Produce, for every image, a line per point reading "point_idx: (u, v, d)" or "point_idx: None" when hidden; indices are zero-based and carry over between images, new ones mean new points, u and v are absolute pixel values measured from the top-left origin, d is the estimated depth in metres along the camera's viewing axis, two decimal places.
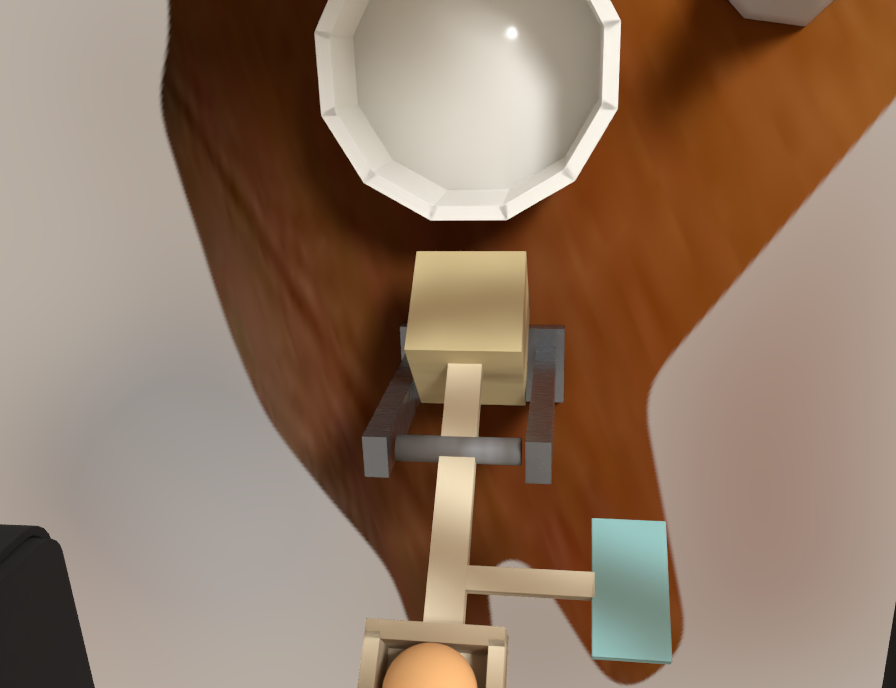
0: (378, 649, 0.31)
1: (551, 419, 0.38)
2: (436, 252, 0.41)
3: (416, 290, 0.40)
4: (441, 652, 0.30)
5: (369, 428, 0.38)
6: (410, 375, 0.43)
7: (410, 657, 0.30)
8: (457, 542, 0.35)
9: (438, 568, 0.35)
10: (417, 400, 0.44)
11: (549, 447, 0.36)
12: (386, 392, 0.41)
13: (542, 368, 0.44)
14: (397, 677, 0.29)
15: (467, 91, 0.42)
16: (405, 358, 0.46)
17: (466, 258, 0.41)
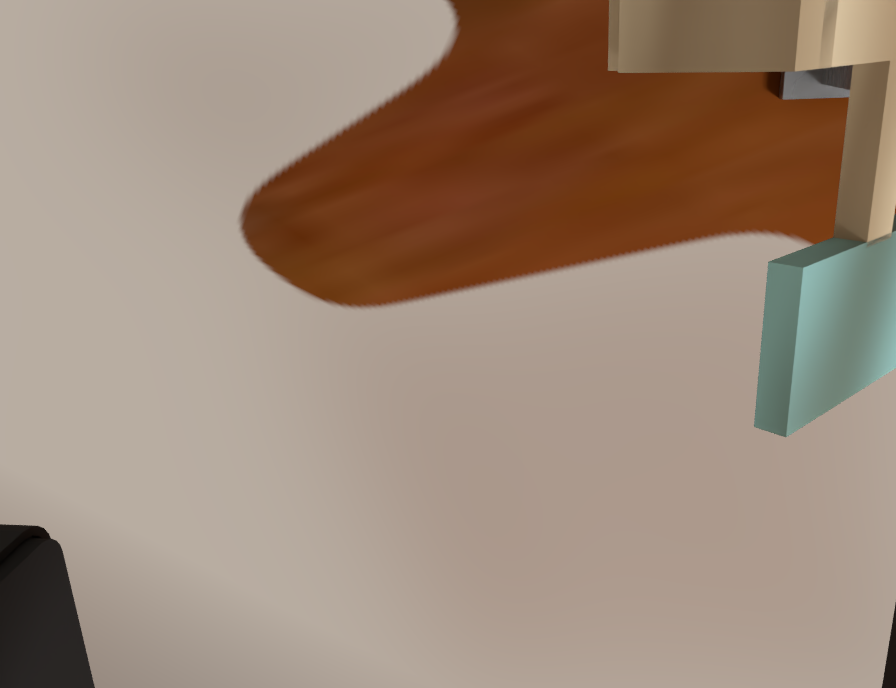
0: None
1: None
2: None
3: None
4: None
5: None
6: None
7: None
8: None
9: None
10: None
11: None
12: None
13: None
14: None
15: None
16: None
17: None
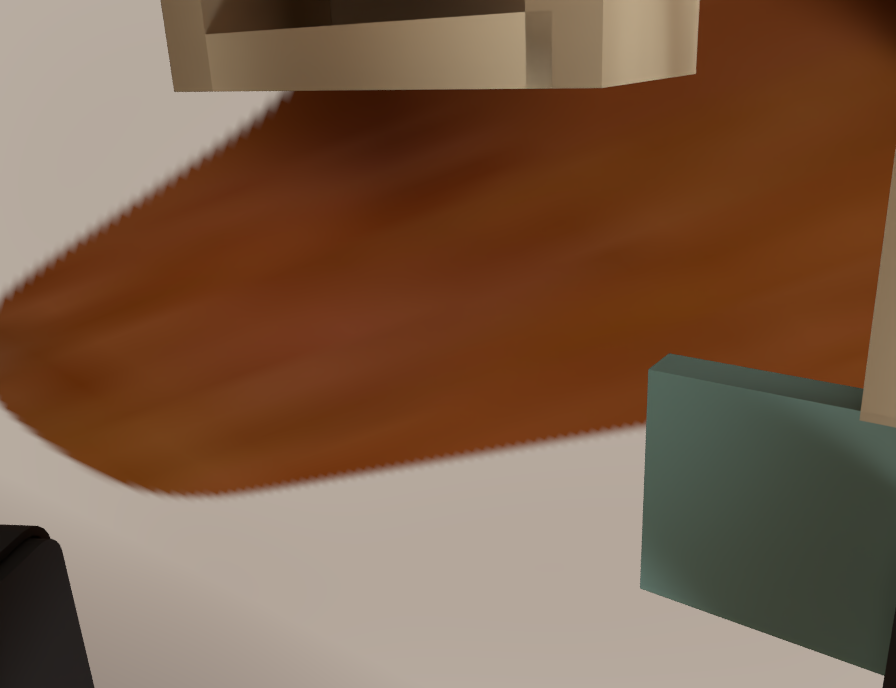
0: None
1: None
2: None
3: None
4: None
5: None
6: None
7: None
8: None
9: None
10: None
11: None
12: None
13: None
14: None
15: None
16: None
17: None
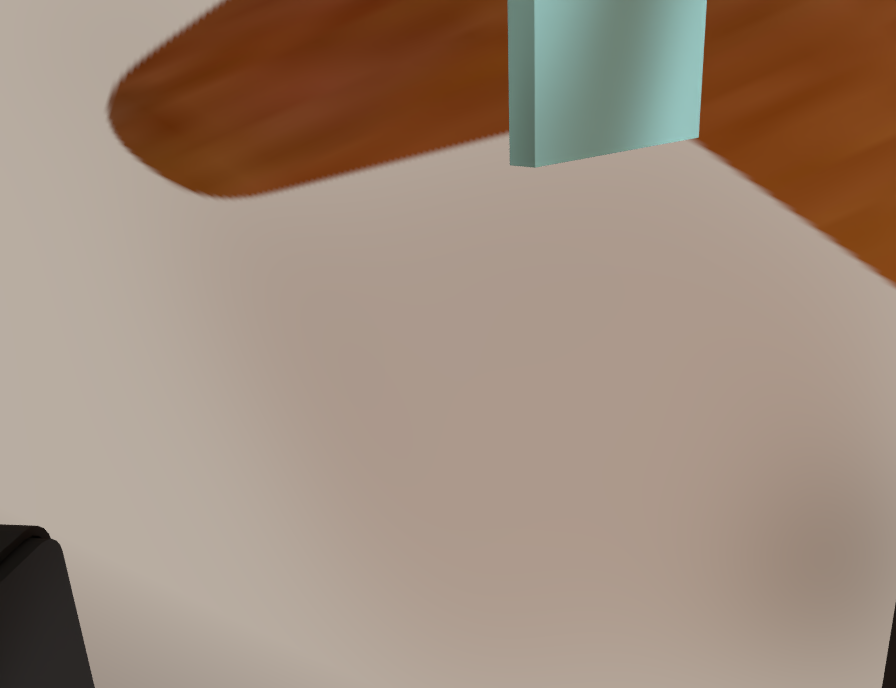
0: None
1: None
2: None
3: None
4: None
5: None
6: None
7: None
8: None
9: None
10: None
11: None
12: None
13: None
14: None
15: None
16: None
17: None
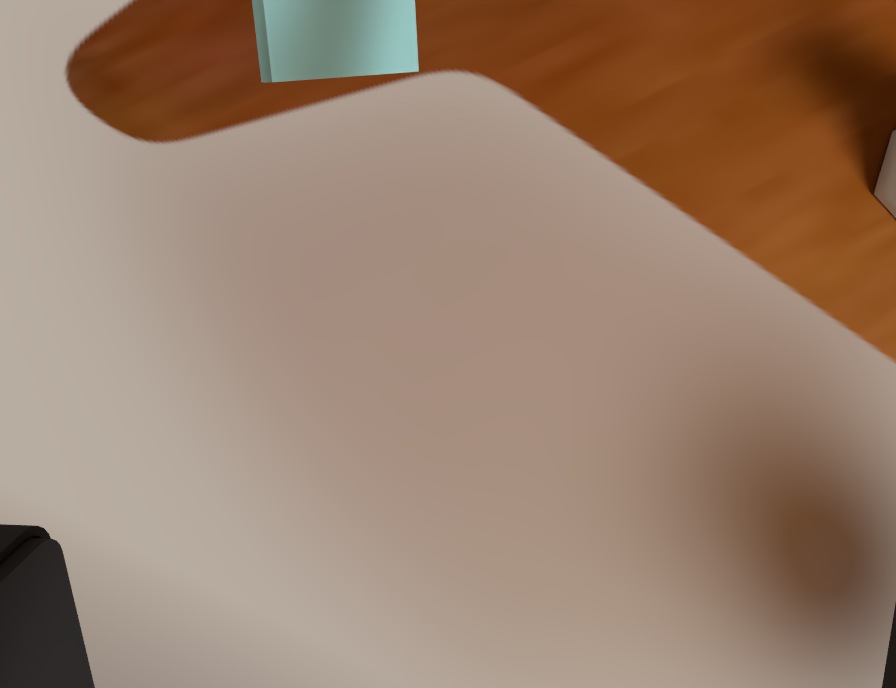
0: None
1: None
2: None
3: None
4: None
5: None
6: None
7: None
8: None
9: None
10: None
11: None
12: None
13: None
14: None
15: None
16: None
17: None
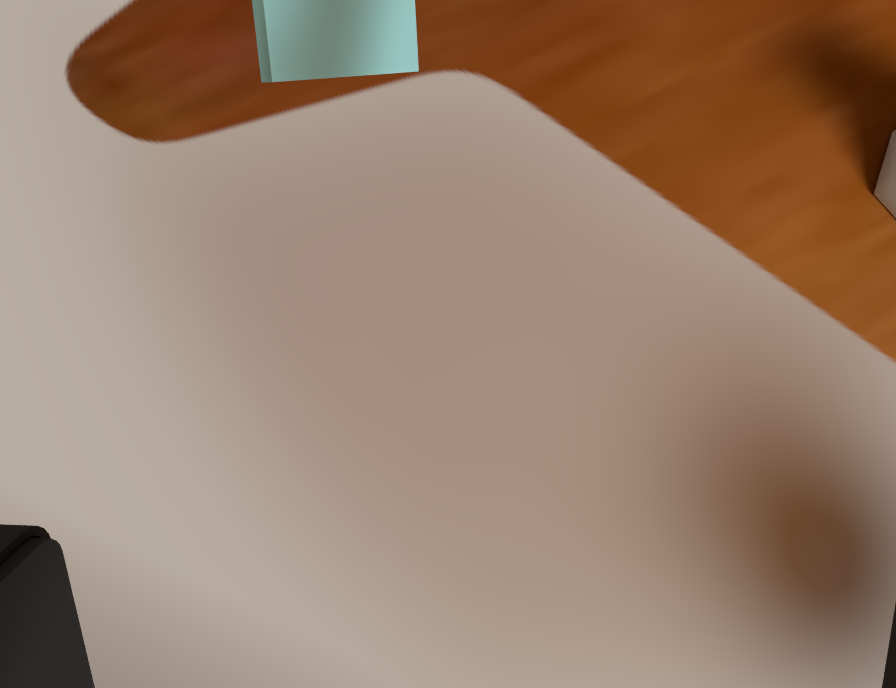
0: None
1: None
2: None
3: None
4: None
5: None
6: None
7: None
8: None
9: None
10: None
11: None
12: None
13: None
14: None
15: None
16: None
17: None
